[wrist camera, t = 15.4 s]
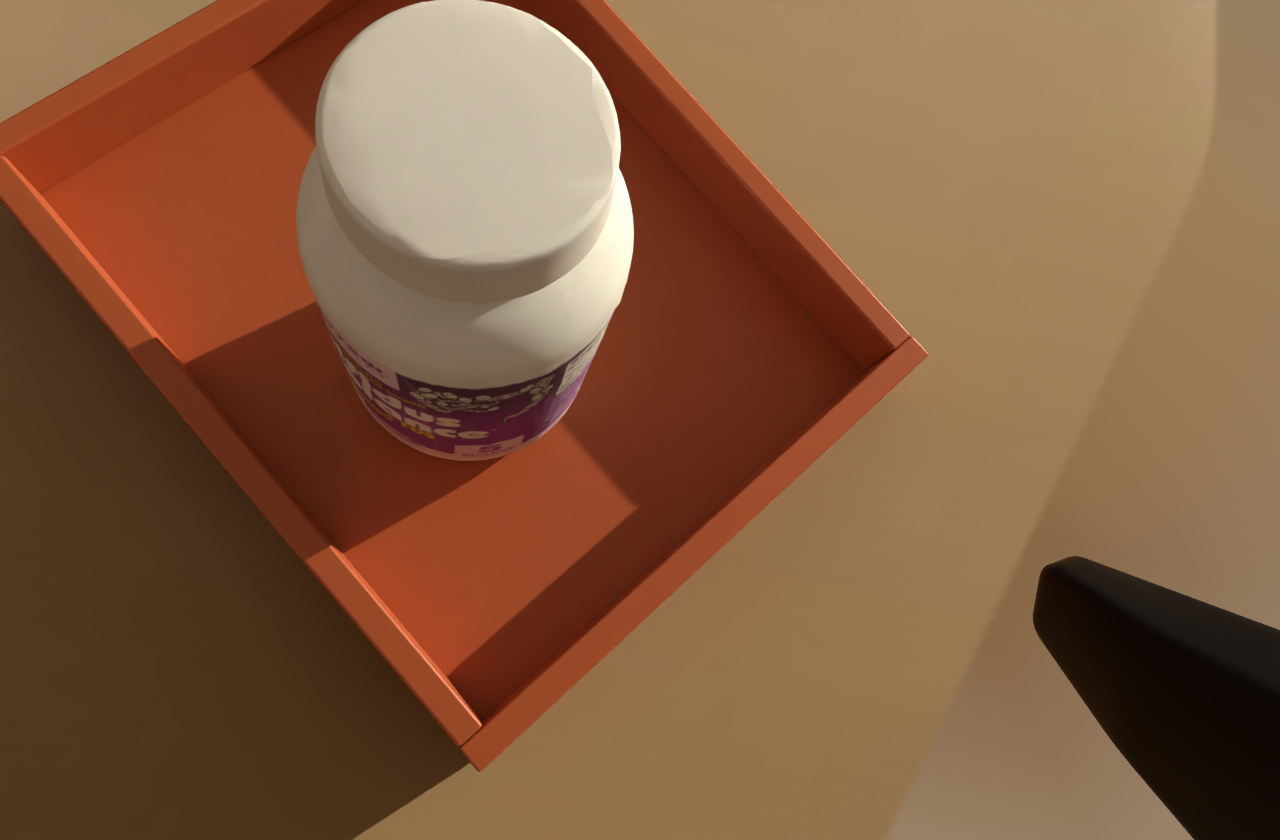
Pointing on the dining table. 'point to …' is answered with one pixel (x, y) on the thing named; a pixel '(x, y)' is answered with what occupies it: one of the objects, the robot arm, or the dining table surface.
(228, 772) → the dining table surface
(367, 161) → the pill bottle
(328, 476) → the tray
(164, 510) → the dining table surface
